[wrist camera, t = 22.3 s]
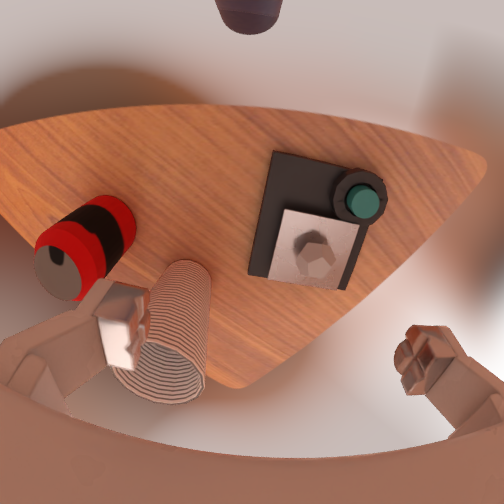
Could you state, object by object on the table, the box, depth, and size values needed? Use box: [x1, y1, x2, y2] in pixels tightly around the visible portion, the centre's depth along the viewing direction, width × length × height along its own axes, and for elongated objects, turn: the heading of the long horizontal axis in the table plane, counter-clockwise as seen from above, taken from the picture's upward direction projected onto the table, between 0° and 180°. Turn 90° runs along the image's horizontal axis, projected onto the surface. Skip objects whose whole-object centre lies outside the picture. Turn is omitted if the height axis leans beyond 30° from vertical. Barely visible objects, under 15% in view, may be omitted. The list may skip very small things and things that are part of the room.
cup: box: [110, 260, 211, 405], centre depth 29 cm, size 8×8×16 cm
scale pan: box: [267, 208, 360, 290], centre depth 31 cm, size 8×8×1 cm
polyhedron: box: [295, 242, 336, 279], centre depth 29 cm, size 4×4×3 cm
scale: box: [248, 150, 388, 290], centre depth 31 cm, size 14×12×3 cm
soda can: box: [34, 195, 136, 301], centre depth 28 cm, size 8×8×12 cm
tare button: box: [347, 185, 379, 218], centre depth 28 cm, size 3×3×2 cm
